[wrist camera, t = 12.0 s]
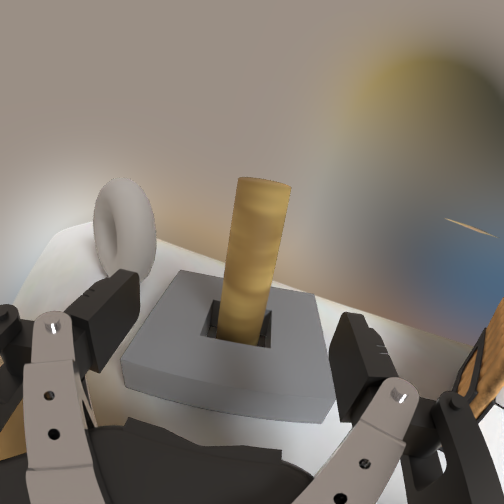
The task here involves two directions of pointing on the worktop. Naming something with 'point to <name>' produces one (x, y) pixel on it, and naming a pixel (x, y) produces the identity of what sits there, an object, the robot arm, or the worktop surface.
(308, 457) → the worktop surface
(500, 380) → the ammunition clip
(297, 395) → the socket block
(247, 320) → the dowel
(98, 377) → the worktop surface
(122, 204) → the donut
